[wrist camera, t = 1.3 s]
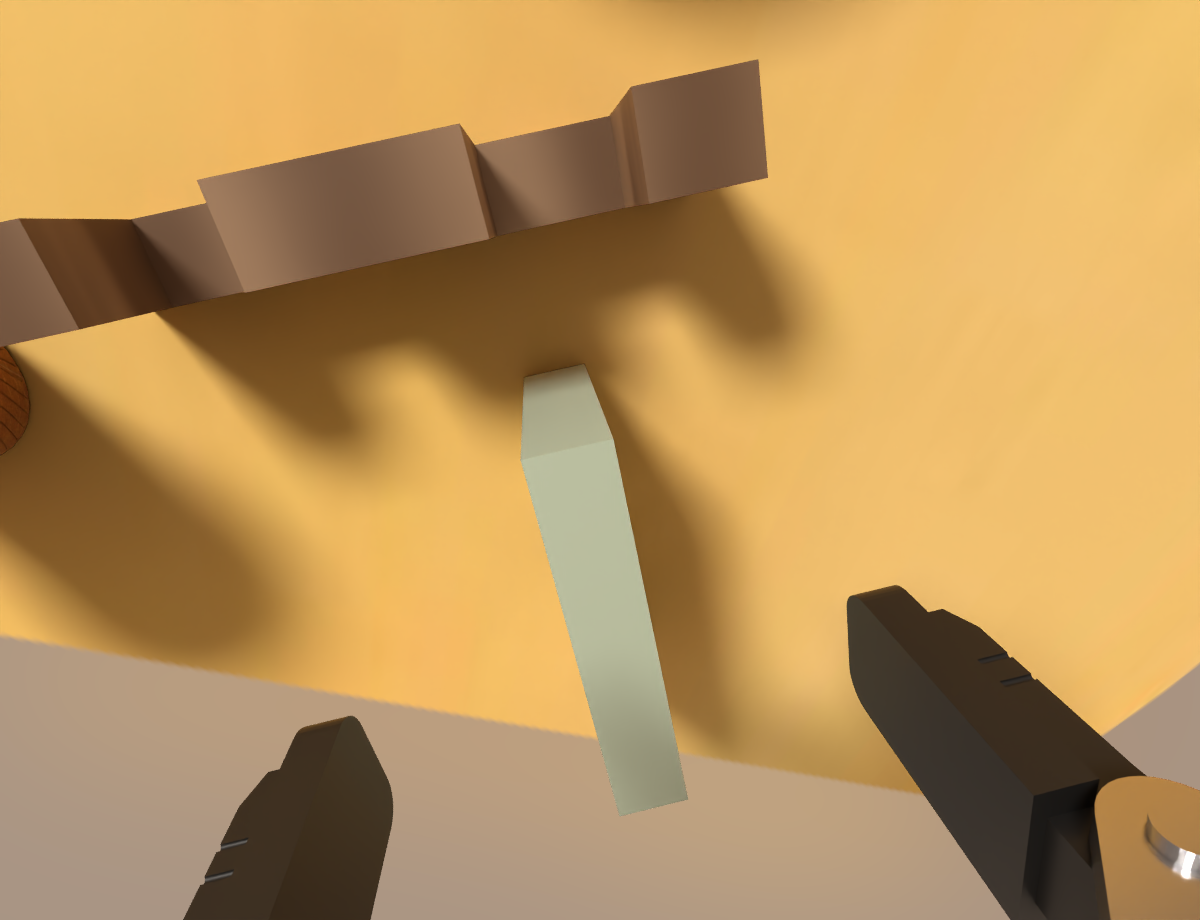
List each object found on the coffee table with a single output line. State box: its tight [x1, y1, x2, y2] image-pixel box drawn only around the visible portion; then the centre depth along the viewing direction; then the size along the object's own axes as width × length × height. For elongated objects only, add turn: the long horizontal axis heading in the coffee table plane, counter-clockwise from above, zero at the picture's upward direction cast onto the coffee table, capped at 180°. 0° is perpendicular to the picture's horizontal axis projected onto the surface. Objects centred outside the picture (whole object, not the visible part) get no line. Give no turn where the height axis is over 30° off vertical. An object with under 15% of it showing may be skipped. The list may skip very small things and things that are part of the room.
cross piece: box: [521, 364, 688, 816], centre depth 22 cm, size 14×2×9 cm, turn 11°
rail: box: [0, 60, 768, 347], centre depth 17 cm, size 20×2×8 cm, turn 101°
